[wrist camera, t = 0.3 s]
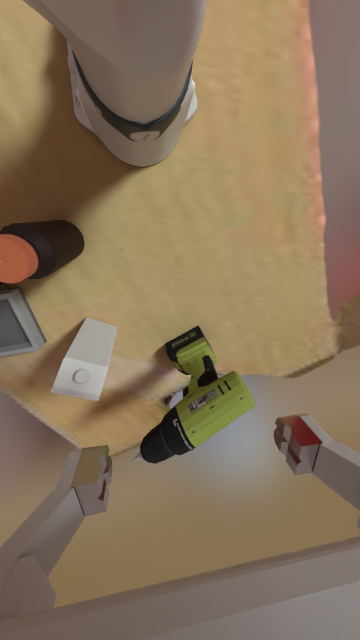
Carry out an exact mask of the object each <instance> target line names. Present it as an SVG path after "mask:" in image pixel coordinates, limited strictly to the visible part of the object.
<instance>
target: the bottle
mask: <svg viewBox="0 0 360 640" xmlns="http://www.w3.org/2000/svg"><path fill="white" fill-rule="evenodd" d="M83 249H84V239H83V236H82V234H81V232H80V230H79V229H78V228H77V227H76V226H75V225H73V224H72V223H70V222H67V221H64V220H55V221H41V222H28V223H14V224H11V225H8V226H6V227H4V228H3V229H2V230H1V231H0V282H4V283H8V284H9V283H10V284H11V283H12V284H13V283H18V282H21V281H23V280H24V279H26V278H28V279H40V278H43V277H46V276H48V275H50V274H51V273H53V272H54V271H56V270H57V269H59V268H61V267H62V266H64V265H65V264H67V263H68V262H70V261H71V260H73V259H74V258H76V257H77V256H79V255H80V254H81V253H82V251H83Z"/></svg>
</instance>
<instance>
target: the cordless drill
mask: <svg viewBox="0 0 360 640" xmlns="http://www.w3.org/2000/svg"><path fill="white" fill-rule="evenodd" d="M165 346H166V351H167V354H168V357H169V359H170V360H171V361H172V363H173V364H174V365H175V367H176V368H177V369H178V371H180V372H181V373H183V374H185V375H190V374H191V379H190V383H189V385H188V386H186V387H185V389H184V390H183V399H182V400H181V401H180V402H179V403H177V404H176V405H175V406H174V407H173V408H172V409H171V410H170V411H169V412H168V413H167V414H166V415H165V416H164V418H163V420H162V421H161V423H160V424H158V425H157V426H156V427H155V428H153V429H152V430H151V431H150V432H149V433H148V434H147V435H146V436H145V437H144V438H143V441H142V443H141V446H140V452H139V454H138V455H137V456H136V457H135V458H134V459H133V461H137V460H141V459H144V460H146V461H147V462H150V463H158V462H161V461H164V460H166V459H168V458H169V457H172V456H174V455H182V454H184V453H186V452H188V451H190V450H193V449H194V448H196V447H197V446H199V445H200V444H201V443H203V442H204V441H206V440H207V439H209V438H210V437H211V436H213V435H215V434H216V433H217V432H219V431H220V430H222V429H223V428H224V427H226V426H227V425H229V424H230V423H231V422H233V421H234V420H235V419H237V418H238V417H239V416H241V415H242V414H244V413H245V412H246V411H248V410H249V409H251V408H252V407H254V405H255V402H254V399H253V397H252V395H251V393H250V392H249V390H248V388H247V387H246V385H245V383H244V381H243V380H242V378H241V377H240V376H239V375H238V373H237V372H235V371H232V372H230V373H228V374H226V375H224V376H222V377H221V378H219V379H218V376H217V373H216V371H215V368H214V365H213V364H215V363H217V362H218V361H217V359H216V357H215V355H214V353H213V351H212V349H211V347H210V345H209V343H208V341H207V340H206V338H205V336H204V334H203V333H202V331H201V329H200V328H199V326H197V327H195V328H193V329H191V330H189V331H187V332H186V333H184V334H182V335H180V336H178V337H177V338H175V339H173V340H171V341H169V342H167V343H166V344H165Z"/></svg>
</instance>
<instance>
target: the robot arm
mask: <svg viewBox="0 0 360 640" xmlns="http://www.w3.org/2000/svg"><path fill="white" fill-rule="evenodd" d="M23 1H24V2H26V3H27V4H28V5H29V6H30V7H32V8H33V9H34V10H35V11H36V12H38V13H39V14H40V15H41V16H42V17H44V18H45V19H46V20H47V21H48V22H49V23H51V24H52V25H53V26H54V27H55V28H56V29H57V30H58V31H59V32H61V33H62V35H63V37H64V38H65V39H66V40H67V49H68V65H69V70H70V77H71V87H72V96H73V106H74V113H75V116H76V118H77V120H78V122H79V123H80V124H81V125H82V126H84V127H85V128H86V129H88V130H89V131H91V132H93V133H94V134H96V135H97V136H98V137H99V139H100V140H101V141H102V142H103V144H104V145H105V146H106V147H107V149H108V150H109V151H110V152H111V153H112V154H113V155H115V156H116V157H117V158H119V159H120V160H122V161H123V162H125V163H128V164H130V165H134V166H141V167H144V166H151V165H154V164H156V163H158V162H160V161H162V160H163V159H164V158H166V157H167V156H168V155H169V154H170V152H171V151H172V150H173V148H174V147H175V145H176V143H177V141H178V138H179V136H180V133H181V131H182V129H183V127H184V126H185V125H186V124H187V123H188V121H189V120H190V119H191V118H192V117H193V116H194V114H195V112H196V108H197V100H196V95H195V83H194V81H193V79H192V74H191V72H192V63H193V57H194V54H195V50H196V47H197V44H198V41H199V38H200V34H201V31H202V27H203V23H204V17H205V11H206V1H207V0H23ZM80 105H81V106H80ZM275 424H276V425H277V428H276V429H275V430H274V440H275V443H276V445H277V447H278V449H279V451H280V452H281V453H283V454H284V455H286V462H287V463H288V465H289V467H290V468H291V470H292V471H293V473H294V475H299V474H305V473H312V472H313V474H314V475H315V476H316V477H317V478H319V479H320V480H321V481H323V482H324V483H325V484H326V485H328V486H329V487H330V488H331V489H333V490H334V491H335V492H336V493H338V494H339V495H340V496H341V497H343V498H344V499H345V500H346V501H348V502H349V503H350V504H352V505H353V506H354V507H355V508H357V509H358V510H359V511H360V453H358V452H356V451H354V450H352V449H351V448H349V447H347V446H345V445H343V444H341V443H339V442H337V441H335V442H334V441H333V440H332V439H331V438H330V437H329V436H328V434H327V433H326V432H325V431H324V430H323V429H322V428H321V427H320V426H319V425H318V424H317V423H316V422H315V421H314V419H313V418H312V417H311V416H310V415H309V414H307V413H305V414H298V415H291V416H286V417H279V418H277V419H276V423H275ZM108 454H109V448H108V445H103V446H96V447H88V448H81V449H74V450H72V451H71V452H70V453H69V456H68V458H67V461H66V464H65V467H64V469H63V472H62V475H61V477H60V480H59V482H58V485H57V488H56V490H55V491H52V492H51V493H50V494H49V495H48V496H47V497H46V498H45V499H44V501H43V502H42V503H41V504H40V505H39V506H38V507H37V508H36V509H35V510H34V511H33V512H32V514H31V515H30V516H29V517H28V518H27V519H26V520H25V521H24V522H23V524H22V525H21V526H20V527H19V528H18V529H17V530H16V531H15V532H14V533H13V534H12V535H11V537H10V538H9V539H8V540H7V541H6V542H5V543H4V544H3V545H2V547H1V548H0V640H360V536H356V537H352V538H347V539H343V540H339V541H335V542H331V543H326V544H323V545H318V546H314V547H309V548H305V549H301V550H297V551H293V552H289V553H285V554H280V555H276V556H271V557H268V558H263V559H259V560H254V561H250V562H246V563H242V564H238V565H233V566H229V567H225V568H221V569H217V570H213V571H208V572H204V573H200V574H195V575H192V576H187V577H183V578H178V579H174V580H171V581H166V582H162V583H157V584H153V585H149V586H145V587H141V588H136V589H133V590H128V591H124V592H119V593H115V594H111V595H107V596H103V597H99V598H94V599H90V600H86V601H82V602H77V603H73V604H69V605H65V606H60V607H56V608H54V604H55V600H56V596H57V594H56V592H55V590H54V588H53V586H52V585H51V583H50V581H49V580H48V576H49V574H50V573H51V571H52V569H53V568H54V566H55V564H56V563H57V561H58V560H59V558H60V556H61V555H62V553H63V552H64V550H65V549H66V547H67V545H68V544H69V542H70V540H71V539H72V537H73V536H74V534H75V532H76V531H77V529H78V528H79V526H80V524H81V523H82V521H83V520H84V516H88V515H93V514H97V513H101V512H106V509H107V503H108V497H109V491H108V487H107V486H108V485H109V483H110V482H111V477H112V460H111V457H110V456H108ZM357 526H358V528H359V529H360V516H359V518H358V520H357Z"/></svg>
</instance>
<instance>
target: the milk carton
mask: <svg viewBox="0 0 360 640" xmlns="http://www.w3.org/2000/svg"><path fill="white" fill-rule="evenodd" d="M116 332H117V326H114V325H110V324H107V323H104V322H101V321H97V320H94V319H91V318H86V319H85V321H84V322H83V324H82V326H81V328H80V330H79V332H78V333H77V335H76V337H75V339H74V341H73V342H72V344H71V346H70V348H69V350H68V352H67V353H66V355H65V357H64V359H63V362H62V364H61V367H60V369H59V372H58V374H57V377H56V379H55V382H54V385H53V387H52V389H51V391H50V393H56V394H61V395H66V396H72V397H77V398H83V399H88V400H94V401H99V397H100V393H101V390H102V387H103V384H104V381H105V377H106V374H107V371H108V368H109V363H110V359H111V354H112V350H113V345H114V341H115V337H116Z"/></svg>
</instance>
